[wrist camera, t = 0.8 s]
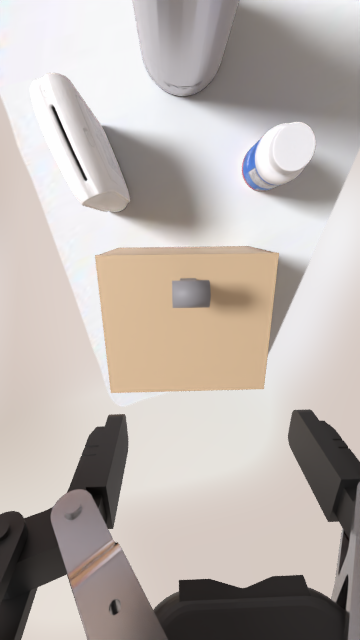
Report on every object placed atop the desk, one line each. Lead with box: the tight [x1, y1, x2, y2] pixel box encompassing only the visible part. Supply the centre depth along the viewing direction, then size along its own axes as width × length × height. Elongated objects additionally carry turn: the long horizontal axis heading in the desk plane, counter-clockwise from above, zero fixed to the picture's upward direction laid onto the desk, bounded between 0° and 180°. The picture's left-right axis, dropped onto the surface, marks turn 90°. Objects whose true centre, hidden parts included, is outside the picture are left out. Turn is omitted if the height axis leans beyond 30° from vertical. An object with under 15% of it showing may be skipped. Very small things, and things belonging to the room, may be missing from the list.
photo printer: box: [30, 73, 130, 212], centre depth 27 cm, size 10×4×12 cm, turn 21°
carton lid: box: [95, 253, 279, 393], centre depth 26 cm, size 16×18×6 cm
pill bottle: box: [242, 122, 316, 191], centre depth 29 cm, size 6×5×10 cm
